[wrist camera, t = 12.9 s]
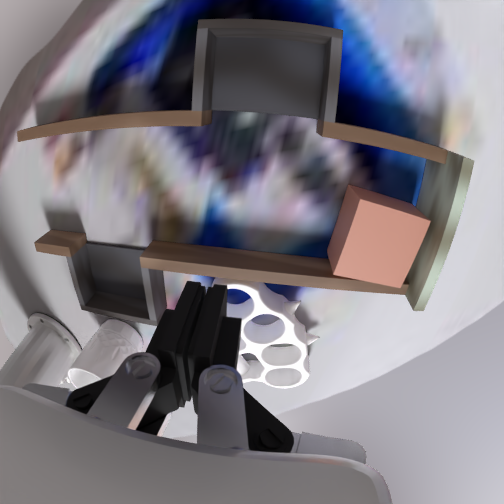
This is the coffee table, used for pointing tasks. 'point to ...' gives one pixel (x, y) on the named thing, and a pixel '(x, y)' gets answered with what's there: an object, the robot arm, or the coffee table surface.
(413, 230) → the salmon pink square block
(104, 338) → the white cup
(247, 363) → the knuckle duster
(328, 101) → the channel
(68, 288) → the coffee table surface
